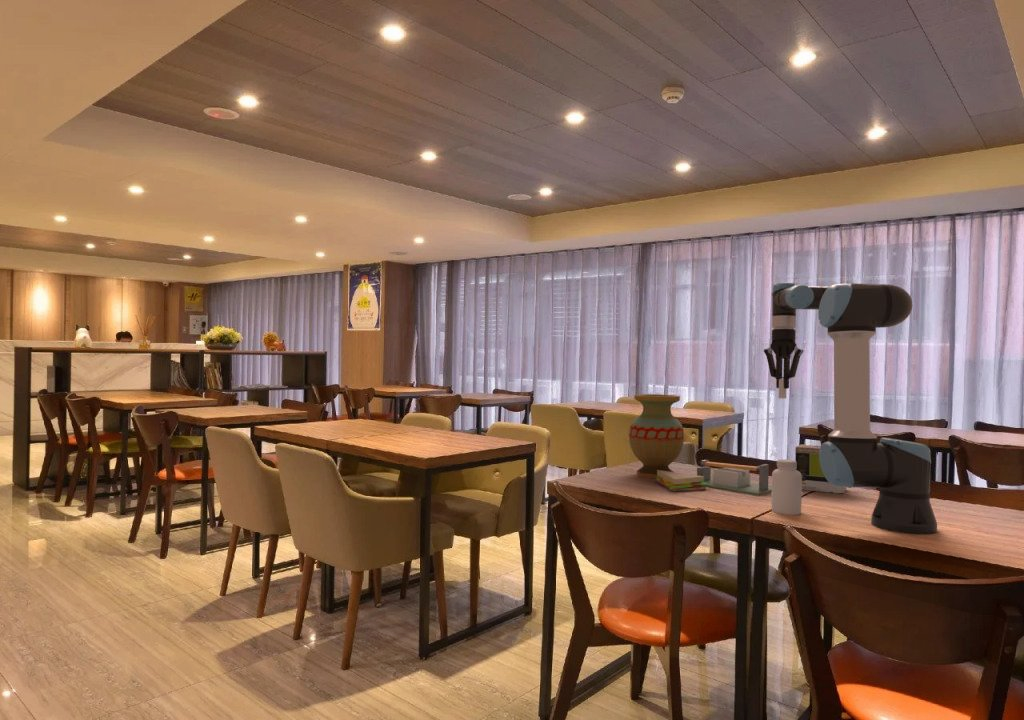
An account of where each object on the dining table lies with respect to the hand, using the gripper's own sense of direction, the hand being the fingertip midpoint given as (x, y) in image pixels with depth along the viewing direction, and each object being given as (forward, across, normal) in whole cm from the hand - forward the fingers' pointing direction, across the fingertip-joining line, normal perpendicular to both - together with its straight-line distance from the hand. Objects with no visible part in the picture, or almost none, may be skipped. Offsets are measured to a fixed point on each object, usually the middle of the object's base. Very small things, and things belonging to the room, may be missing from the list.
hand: (782, 398), depth 233 cm
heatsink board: (+31, +23, +11) cm, 40 cm away
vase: (+31, +41, +13) cm, 53 cm away
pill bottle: (+31, -16, +35) cm, 50 cm away
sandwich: (+32, +24, +25) cm, 47 cm away
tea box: (+31, -10, -9) cm, 34 cm away
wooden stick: (+24, +23, +11) cm, 35 cm away
